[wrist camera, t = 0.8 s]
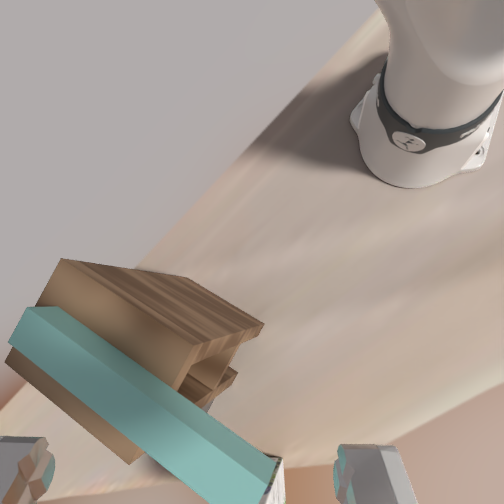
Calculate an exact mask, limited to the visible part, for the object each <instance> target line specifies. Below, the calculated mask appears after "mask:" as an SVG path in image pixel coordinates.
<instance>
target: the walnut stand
mask: <svg viewBox="0 0 504 504" xmlns="http://www.w3.org/2000/svg"><path fill="white" fill-rule="evenodd" d="M53 306H58V307H59V308H61V309H62V310H63V311H65V312H66V313H68V314H69V315H70V316H72V317H73V318H75V319H76V320H77V321H79V322H80V323H82V324H83V325H84V326H86V327H87V328H89V329H90V330H91V331H93V332H94V333H96V334H97V335H98V336H100V337H101V338H103V339H104V340H105V341H107V342H108V343H110V344H111V345H112V346H114V347H115V348H117V349H118V350H119V351H121V352H122V353H124V354H125V355H126V356H128V357H129V358H131V359H132V360H133V361H135V362H136V363H137V364H139V365H140V366H142V367H143V368H144V369H146V370H147V371H149V372H150V373H151V374H153V375H154V376H156V377H157V378H158V379H160V380H161V381H163V382H164V383H165V384H167V385H168V386H170V387H171V388H172V389H174V390H175V391H177V392H178V393H179V394H181V395H182V396H184V397H185V398H186V399H188V400H189V401H191V402H192V403H193V404H195V405H196V406H198V407H199V408H200V409H201V408H202V407H204V406H205V405H206V404H208V403H209V402H210V401H211V400H213V399H214V398H215V397H216V396H218V395H219V394H220V393H222V392H223V391H224V390H225V389H227V388H228V387H229V386H231V385H232V383H233V381H234V379H235V377H236V375H237V374H238V372H236V371H235V370H233V369H232V368H230V367H229V364H230V362H231V360H232V358H233V357H234V355H235V353H236V351H237V349H238V347H239V346H240V344H241V343H243V342H245V341H248V340H250V339H252V338H255V337H257V336H258V335H259V333H260V331H261V329H262V327H263V326H264V323H262V322H260V321H259V320H257V319H255V318H254V317H252V316H250V315H249V314H247V313H245V312H244V311H242V310H240V309H239V308H237V307H235V306H234V305H232V304H230V303H229V302H227V301H225V300H224V299H222V298H220V297H219V296H217V295H215V294H214V293H212V292H210V291H209V290H207V289H205V288H204V287H202V286H200V285H199V284H197V283H195V282H194V281H192V280H190V279H189V278H186V277H179V276H173V275H166V274H160V273H153V272H147V271H140V270H134V269H127V268H121V267H114V266H108V265H101V264H95V263H89V262H82V261H75V260H69V259H63V258H61V260H60V261H59V263H58V265H57V267H56V269H55V271H54V272H53V274H52V276H51V278H50V280H49V282H48V283H47V285H46V287H45V289H44V291H43V292H42V294H41V296H40V298H39V300H38V302H37V303H36V305H35V307H53ZM5 363H6V364H7V365H8V366H10V367H11V368H12V369H13V370H14V371H16V372H17V373H18V374H19V375H20V376H22V377H23V378H24V379H25V380H26V381H28V382H29V383H30V384H31V385H33V386H34V387H35V388H36V389H37V390H39V391H40V392H41V393H42V394H43V395H45V396H46V397H47V398H48V399H49V400H51V401H52V402H53V403H54V404H56V405H57V406H58V407H59V408H60V409H62V410H63V411H64V412H65V413H66V414H68V415H69V416H70V417H71V418H72V419H74V420H75V421H76V422H77V423H79V424H80V425H81V426H82V427H83V428H85V429H86V430H87V431H88V432H89V433H91V434H92V435H93V436H94V437H95V438H97V439H98V440H99V441H100V442H102V443H103V444H104V445H105V446H106V447H108V448H109V449H110V450H111V451H112V452H114V453H115V454H116V455H117V456H118V457H120V458H121V459H122V460H123V461H125V462H126V463H127V464H128V465H130V464H131V463H132V462H134V461H135V460H136V459H137V458H139V457H140V456H141V455H142V454H144V453H145V451H143V450H142V449H141V448H140V447H138V446H137V445H136V444H135V443H133V442H132V441H131V440H130V439H128V438H127V437H126V436H125V435H123V434H122V433H121V432H120V431H118V430H117V429H116V428H115V427H113V426H112V425H111V424H110V423H108V422H107V421H106V420H105V419H103V418H102V417H101V416H100V415H98V414H97V413H96V412H95V411H93V410H92V409H91V408H90V407H88V406H87V405H86V404H85V403H83V402H82V401H81V400H80V399H78V398H77V397H76V396H75V395H73V394H72V393H71V392H70V391H68V390H67V389H66V388H65V387H63V386H62V385H61V384H60V383H58V382H57V381H56V380H55V379H53V378H52V377H51V376H50V375H48V374H47V373H46V372H45V371H43V370H42V369H41V368H40V367H38V366H37V365H36V364H34V363H33V362H32V361H31V360H29V359H28V358H27V357H26V356H24V355H23V354H22V353H21V352H19V351H18V350H17V349H16V348H14V347H12V349H11V351H10V353H9V355H8V356H7V358H6V360H5Z"/></svg>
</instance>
